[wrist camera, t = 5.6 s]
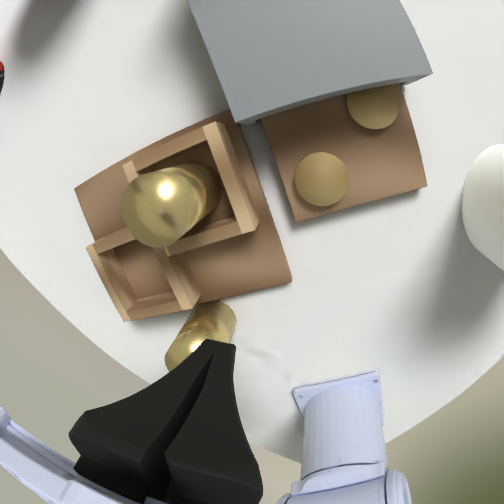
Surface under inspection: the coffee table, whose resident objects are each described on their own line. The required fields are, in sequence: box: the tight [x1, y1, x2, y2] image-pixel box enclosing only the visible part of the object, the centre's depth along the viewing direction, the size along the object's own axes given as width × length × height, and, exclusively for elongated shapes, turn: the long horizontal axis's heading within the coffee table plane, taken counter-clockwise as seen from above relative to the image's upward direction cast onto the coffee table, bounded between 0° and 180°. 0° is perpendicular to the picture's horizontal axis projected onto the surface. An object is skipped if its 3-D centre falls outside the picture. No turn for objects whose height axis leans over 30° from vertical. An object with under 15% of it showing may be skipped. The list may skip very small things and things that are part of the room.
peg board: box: [74, 110, 292, 322], centre depth 19 cm, size 12×14×3 cm
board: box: [261, 83, 427, 222], centre depth 16 cm, size 8×9×2 cm
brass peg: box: [165, 300, 236, 372], centre depth 20 cm, size 4×4×6 cm
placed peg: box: [121, 162, 222, 248], centre depth 16 cm, size 4×4×6 cm
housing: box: [187, 0, 433, 126], centre depth 12 cm, size 10×11×4 cm
